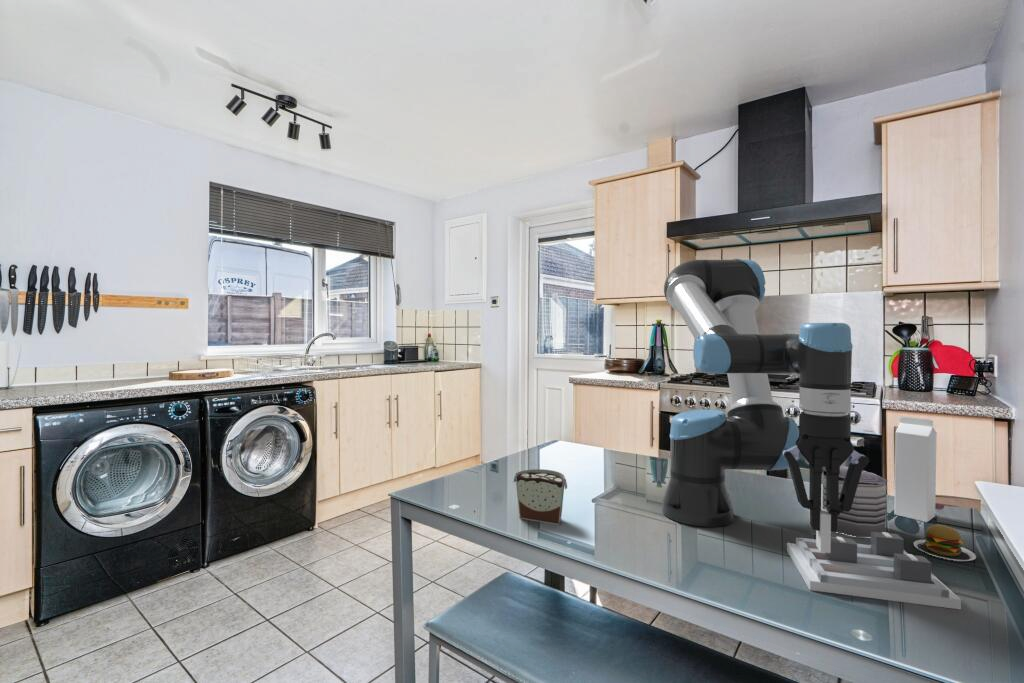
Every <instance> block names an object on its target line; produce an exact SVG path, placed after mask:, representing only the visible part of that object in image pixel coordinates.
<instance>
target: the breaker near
mask: <svg viewBox="0 0 1024 683" xmlns="http://www.w3.org/2000/svg"><path fill="white" fill-rule="evenodd" d="M931 573H932V562H931V561H930V560H928V559H927V558H926V557H925V556H922V555H916V554H915V555H914V554H911V553H908V554H896V553H894V571H893V578H894V579H895V580H903V581H911V582H920V583H928V584H931Z"/></svg>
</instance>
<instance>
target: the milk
mask: <svg viewBox="0 0 1024 683" xmlns="http://www.w3.org/2000/svg"><path fill="white" fill-rule="evenodd" d="M937 436H938V435H937V431H936V429H935V428H934V421H933V419H925V418H919V417H918V418H917V417H908V416H900V418H899V424H898V426H897V428H896V431H895V437H894V438H895V443H894V444H895V445H894V450H895V451H894V453H895V454H894V459H895V460H894V502H893V503H894V510H893V512H894V515H896V516H901V517H904V518H908V519H912V520H916V521H921V522H924V523H928V522H930V521H931V520H932V519H933V518H935V517H936V492H937V490H936V486H937Z"/></svg>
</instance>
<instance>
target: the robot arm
mask: <svg viewBox="0 0 1024 683" xmlns="http://www.w3.org/2000/svg"><path fill="white" fill-rule="evenodd" d="M765 278H766V277H765V275H764V271H763V269H762V267H761V265H759V263H757V262H756V261H754V260H752V259H742V258H733V259H693V260H692V259H691V260H688V261H685V262H683V263H680V264H678V265H677V266H676V267H675V268H674V269H672V270H671V271H670V272H669V274H668V275H667V277H666V279H665V282H664V284H663V294H664V297H665V299H666V301H667V303H668V304H669V306H670V307H671V308H672V309H674V310H675V311H678V313H679V315H680V316H681V318H682V320H683V321H684V323H685V324H686V326H687V328H688V330H689V331H690V333H691V335H692V336H693V338H694V343H693V349H692V355H693V356H692V357H693V358H692V359H693V360H694V366H695V368H696V369H697V371H699V372H700V373H705V374H706V373H707V374H708V373H709V374H716V375H722V374H723V375H724V374H727V380H728V385H729V392H730V399H731V403H732V405H731V406H730V408H729V409H728V410H727V411H726V413H725V412H724V411H723V410H720V409H695V410H688V411H682V412H680V413H676V414H675V415H674V416H673V417H672V419H671V422H670V429H669V430H670V433H669V439H670V442H669V443H670V446H669V447H670V449H669V450H670V459H669V461H670V462H669V463H670V464H669V465H670V471H669V472H670V473H669V474H670V476H669V477H670V478H669V481H668V484H667V487H666V490H665V492H664V495H663V498H662V502H661V504H662V505H661V507H662V509H661V510H662V511H661V512H662V514H663V515H664V516H665V517H667V518H668V519H670V520H673V521H675V522H678V523H681V524H685V525H689V526H695V527H703V528H704V527H708V528H709V527H710V528H711V527H713V528H714V527H723V526H726V525H729V524H732V522H733V521H734V507H733V504H732V501H731V498H730V495H729V492H728V488H727V485H726V471H727V470H737V471H738V470H742V471H743V470H744V471H745V470H746V471H747V470H749V471H762V470H763V471H767V472H771V471H781V470H787V469H789V472H790V476H791V480H792V483H793V487H794V490H795V494H796V498H797V502H798V503H799V505H800V506H801V507H802V508H804V509H808V510H809V525H810V528H811V529H812V531H816V532H815V534H816V536H815V537H816V538H815V539H816V546H817V547H818V549H819V550H820V552H826V553H831V537H832V533H836V531H837V516H838V515H839V514H840V512H843V511H846V512H848V511H850V510H851V507H852V503H853V500H854V497H855V493H856V490H857V487H858V483H859V480H860V476H861V473H862V470H863V471H864V469H865V468H866V467H867V465H869V463H870V458H869V457H867V456H866V455H864V454H863V453H859V452H858V451H857V450H855V447H854V445H853V442H852V440H851V434H852V432H851V430H852V426H851V424H852V423H851V422H852V417H850V415H848V413H850V412H851V410H852V406H851V405H852V404H851V403H852V402H851V401H852V398H851V397H852V390H851V388H852V386H851V384H852V364H853V362H852V361H853V358H852V357H853V356H852V354H853V343H852V332H851V331H852V330H851V326H850V325H849V324H847V323H845V322H807V323H804V324H802V325H801V326H800V328H799V334H798V333H797V334H796V333H780V334H779V333H778V334H776V333H773V334H772V333H771V334H769V333H767V334H761V333H760V332H759V328H758V322H757V318H756V312H755V311H757V309H758V308H759V306H760V303H761V302H762V300H763V299H764V297H765V294H766V287H765V286H766V279H765ZM768 374H791V375H793V374H795V375H799V398H798V399H799V400H798V403H799V405H798V407H799V409H800V410H802V411H801V412H800V413H799V414H798V424H797V422H795V419H794V418H792V417H789V416H784V411H783V407H782V405H781V404H779V403H777V402H775V401H774V399H773V394H772V391H771V390H772V389H771V385H770V380H769V376H768ZM726 414H727V415H726ZM799 454H801V455H802V457H803V458H804V459H805V460H806V461H807V463H808V469H809V483H808V484H809V490H808V491H809V495H807V491H806V490H807V489H806V487H805V483H804V479H803V476H802V472H801V467H800V464H799V462H798V461H799V460H800V455H799ZM847 459H848V461H849V462H850V463H849V465H848V466H847V467H848V470H847V474H846V477H845V480H844V484H843V487H842V491H841V494H840V497H839V474H840V466H842V465H843V464H844V463H845V461H847ZM822 467H825V468H826V507H827V510H826V509H822V476H823V469H822ZM808 497H809V498H808Z"/></svg>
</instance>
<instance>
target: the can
mask: <svg viewBox="0 0 1024 683" xmlns="http://www.w3.org/2000/svg"><path fill="white" fill-rule="evenodd" d="M848 467H849V466H842V465H841V466H840V474H839V497H840V494H841V491H842V487H843V484H844V480H845V477H846V474H847V470H848ZM888 481H889V479H886V478H884V477H882V476H880V475H878V474H876V473H874V472H869V471H866V470H864V469H863V470H862V473H861V476H860V480H859V483H858V487H857V490H856V493H855V497H854V500H853V503H852V507H851V510H850V511H848V512H846V511H843V512H840V514H839V515H838V516H837V531H836V532H838V533H837V534H839V533H844V534H847V535H852V536H856V537H871V532H880V533H882V532H886V530H887V528H886V525H887V524H886V523H887V482H888ZM821 509H826V510H827V507H826V468H825V467H822V500H821ZM836 532H835V533H836ZM847 535H846V536H847Z"/></svg>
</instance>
